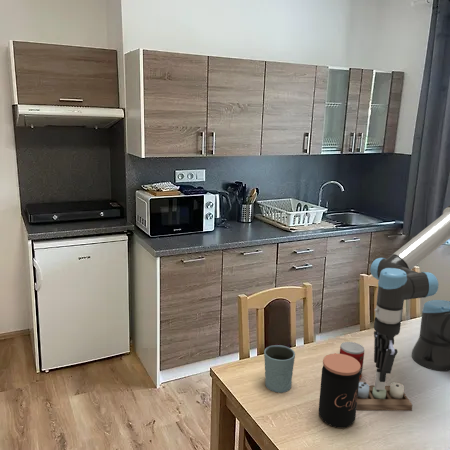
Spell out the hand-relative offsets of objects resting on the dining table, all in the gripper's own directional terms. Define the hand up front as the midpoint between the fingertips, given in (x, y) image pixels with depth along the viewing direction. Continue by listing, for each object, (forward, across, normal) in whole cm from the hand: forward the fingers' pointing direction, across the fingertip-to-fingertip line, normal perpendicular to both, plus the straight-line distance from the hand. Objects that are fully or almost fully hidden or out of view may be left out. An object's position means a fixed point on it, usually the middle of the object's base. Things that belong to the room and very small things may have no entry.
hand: (379, 388), depth 139 cm
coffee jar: (+5, +8, -16) cm, 18 cm away
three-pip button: (+2, 0, -5) cm, 6 cm away
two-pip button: (+4, 0, 0) cm, 4 cm away
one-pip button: (+2, 0, +6) cm, 6 cm away
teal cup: (+5, -8, -31) cm, 32 cm away
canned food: (+5, -14, -5) cm, 16 cm away
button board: (+4, 0, 0) cm, 4 cm away
